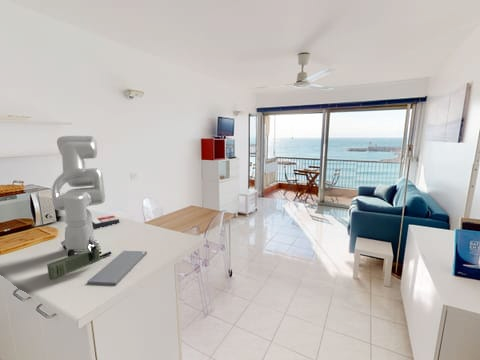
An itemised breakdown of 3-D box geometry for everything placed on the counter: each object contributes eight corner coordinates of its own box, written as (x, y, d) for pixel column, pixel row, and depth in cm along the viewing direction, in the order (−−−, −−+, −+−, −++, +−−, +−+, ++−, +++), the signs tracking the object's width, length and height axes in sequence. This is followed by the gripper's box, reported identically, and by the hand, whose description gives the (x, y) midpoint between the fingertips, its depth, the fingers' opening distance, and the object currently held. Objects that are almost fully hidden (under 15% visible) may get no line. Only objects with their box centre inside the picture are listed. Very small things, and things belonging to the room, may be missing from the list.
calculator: (119, 218, 160) (94, 223, 149) (119, 224, 161) (94, 229, 150) (113, 215, 167) (89, 219, 157) (114, 220, 168) (89, 225, 157)
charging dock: (87, 283, 94) (87, 281, 93) (124, 252, 119) (123, 250, 119) (116, 285, 93) (116, 282, 92) (146, 253, 118) (146, 251, 118)
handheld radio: (48, 278, 98) (109, 253, 118) (51, 280, 96) (112, 255, 116) (46, 263, 97) (108, 241, 117) (49, 266, 95) (111, 243, 115)
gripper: (51, 225, 100) (57, 263, 103) (90, 226, 99) (94, 264, 102) (65, 220, 108) (70, 255, 110) (101, 220, 106) (105, 256, 109)
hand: (82, 259), depth 106 cm, fingers open, 9 cm apart
